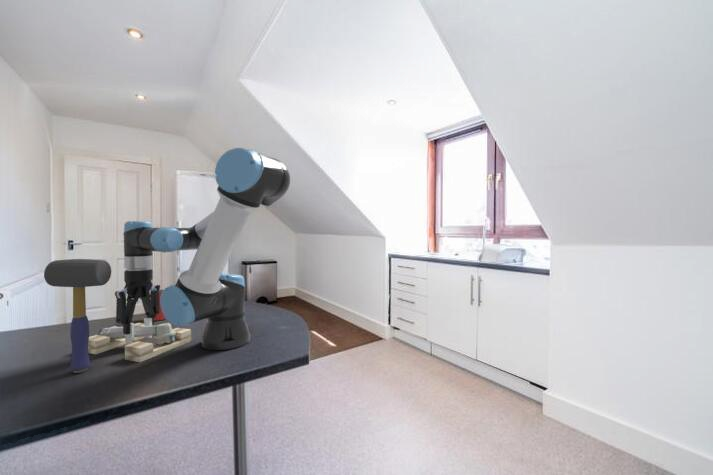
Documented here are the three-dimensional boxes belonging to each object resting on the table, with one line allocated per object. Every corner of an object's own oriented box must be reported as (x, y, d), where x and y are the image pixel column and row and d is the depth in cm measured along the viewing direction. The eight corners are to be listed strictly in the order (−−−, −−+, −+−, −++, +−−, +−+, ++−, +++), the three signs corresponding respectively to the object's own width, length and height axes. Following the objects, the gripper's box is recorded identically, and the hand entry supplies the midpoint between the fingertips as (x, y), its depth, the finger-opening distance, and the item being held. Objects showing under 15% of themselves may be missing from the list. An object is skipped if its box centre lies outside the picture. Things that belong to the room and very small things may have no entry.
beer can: (169, 319, 132) (169, 291, 131) (150, 322, 128) (150, 292, 128) (168, 316, 137) (168, 288, 137) (150, 318, 133) (150, 290, 133)
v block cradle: (191, 341, 106) (191, 329, 106) (140, 362, 89) (140, 348, 89) (138, 333, 113) (138, 322, 113) (82, 351, 96) (82, 339, 96)
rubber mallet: (42, 379, 79) (40, 260, 78) (65, 366, 86) (64, 257, 85) (96, 376, 80) (95, 260, 80) (114, 364, 88) (113, 257, 87)
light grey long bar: (109, 325, 105) (177, 318, 102) (112, 345, 105) (180, 338, 102) (95, 330, 100) (166, 322, 97) (97, 350, 100) (168, 343, 97)
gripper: (155, 265, 111) (156, 330, 111) (99, 272, 93) (100, 349, 93) (172, 266, 108) (172, 332, 109) (117, 273, 91) (118, 352, 91)
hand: (139, 340), depth 101 cm, fingers closed on light grey long bar, 5 cm apart
